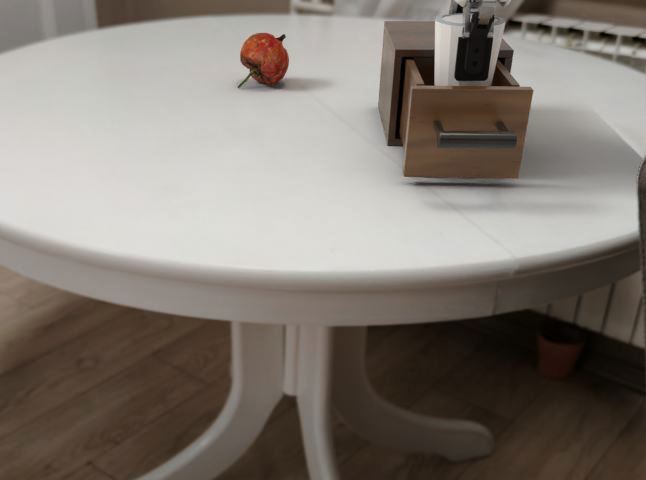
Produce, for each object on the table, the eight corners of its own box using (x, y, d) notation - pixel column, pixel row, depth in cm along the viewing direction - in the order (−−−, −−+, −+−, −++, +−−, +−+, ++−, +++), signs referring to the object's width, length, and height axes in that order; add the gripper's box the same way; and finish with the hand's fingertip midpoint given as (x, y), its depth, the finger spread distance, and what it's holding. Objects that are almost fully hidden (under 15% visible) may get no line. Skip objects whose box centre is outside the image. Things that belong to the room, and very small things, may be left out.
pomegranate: (261, 110, 112) (313, 59, 111) (228, 69, 108) (281, 16, 108) (244, 102, 118) (292, 53, 118) (212, 63, 114) (262, 13, 114)
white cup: (508, 89, 83) (519, 17, 79) (473, 103, 79) (483, 28, 75) (450, 78, 87) (458, 9, 83) (414, 91, 83) (421, 19, 79)
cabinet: (498, 147, 92) (514, 50, 86) (387, 145, 92) (395, 49, 86) (475, 107, 105) (487, 21, 99) (377, 106, 105) (384, 20, 100)
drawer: (530, 200, 76) (548, 106, 71) (409, 198, 76) (418, 105, 72) (491, 133, 93) (503, 54, 88) (391, 132, 93) (398, 53, 89)
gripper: (555, -130, 65) (520, 93, 75) (510, -137, 80) (486, 50, 89) (461, -129, 65) (438, 94, 75) (434, -136, 80) (417, 51, 90)
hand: (464, 69), depth 82 cm, fingers closed on white cup, 6 cm apart
